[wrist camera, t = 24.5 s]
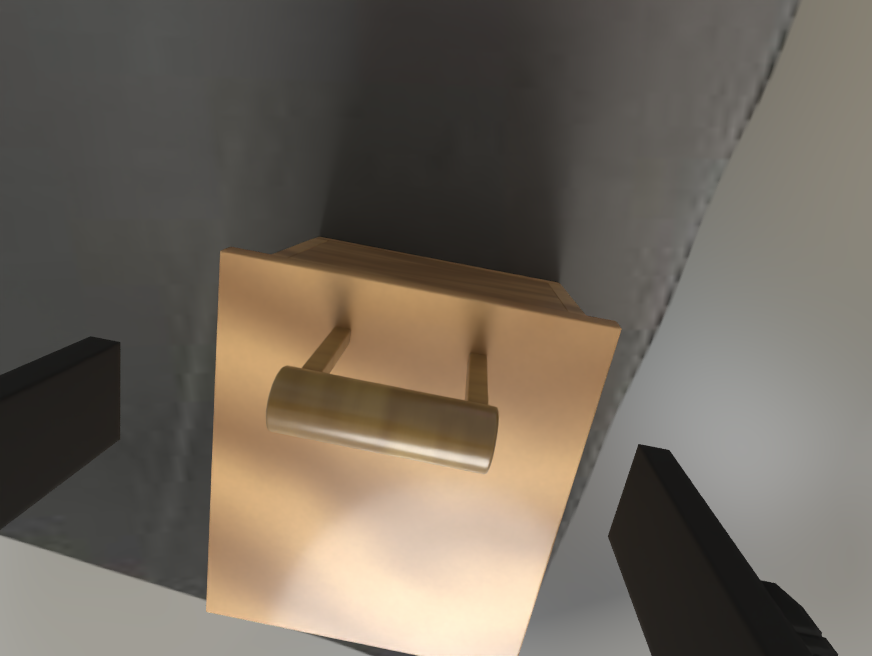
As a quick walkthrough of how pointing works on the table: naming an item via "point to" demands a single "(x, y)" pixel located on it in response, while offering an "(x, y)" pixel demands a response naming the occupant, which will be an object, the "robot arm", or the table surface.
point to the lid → (391, 454)
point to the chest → (433, 272)
